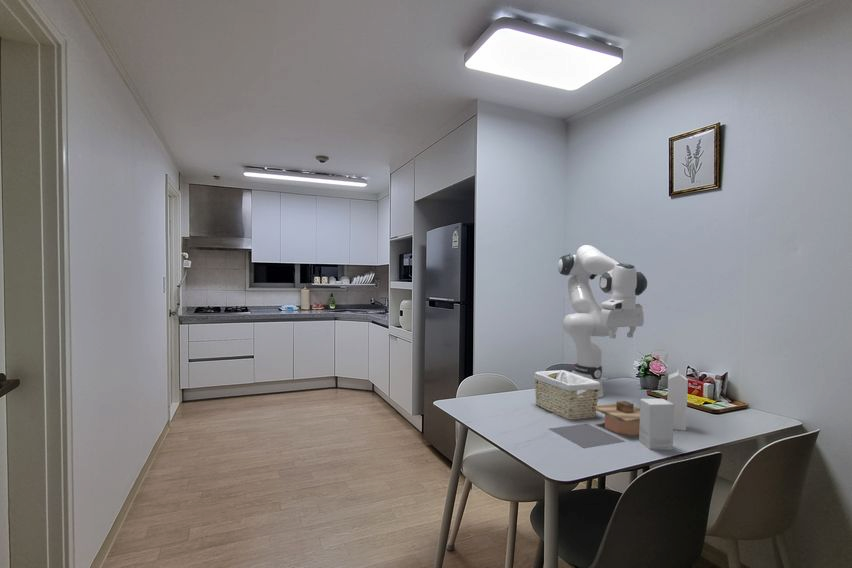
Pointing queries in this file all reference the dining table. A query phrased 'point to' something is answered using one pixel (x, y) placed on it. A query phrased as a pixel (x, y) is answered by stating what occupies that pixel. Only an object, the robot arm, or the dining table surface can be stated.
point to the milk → (678, 399)
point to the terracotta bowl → (622, 426)
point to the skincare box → (656, 423)
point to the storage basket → (566, 394)
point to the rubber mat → (586, 435)
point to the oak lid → (620, 411)
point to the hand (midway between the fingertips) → (621, 337)
